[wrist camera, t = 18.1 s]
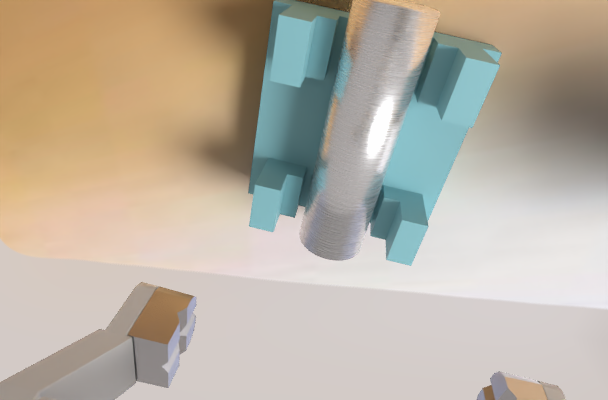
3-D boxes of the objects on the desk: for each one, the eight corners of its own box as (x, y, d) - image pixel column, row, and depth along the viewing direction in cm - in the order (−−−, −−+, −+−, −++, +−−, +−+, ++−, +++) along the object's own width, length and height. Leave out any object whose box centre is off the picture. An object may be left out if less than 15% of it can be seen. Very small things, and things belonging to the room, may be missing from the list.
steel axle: (355, -12, 20) (352, -3, 17) (434, 6, 20) (447, 18, 17) (304, 214, 28) (295, 251, 24) (361, 227, 28) (360, 266, 24)
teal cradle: (281, -3, 23) (257, 9, 18) (492, 45, 22) (522, 70, 18) (255, 178, 29) (233, 222, 25) (419, 218, 29) (427, 269, 24)
